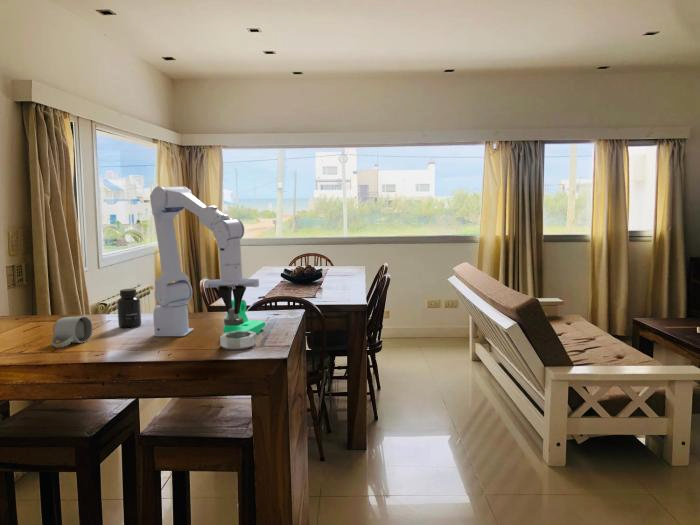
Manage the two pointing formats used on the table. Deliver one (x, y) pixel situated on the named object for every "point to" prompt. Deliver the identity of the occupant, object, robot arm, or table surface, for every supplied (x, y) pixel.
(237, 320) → the cap
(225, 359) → the table surface
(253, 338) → the white ring bowl
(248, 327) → the camera mount
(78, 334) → the ceramic mug
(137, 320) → the supplement bottle
